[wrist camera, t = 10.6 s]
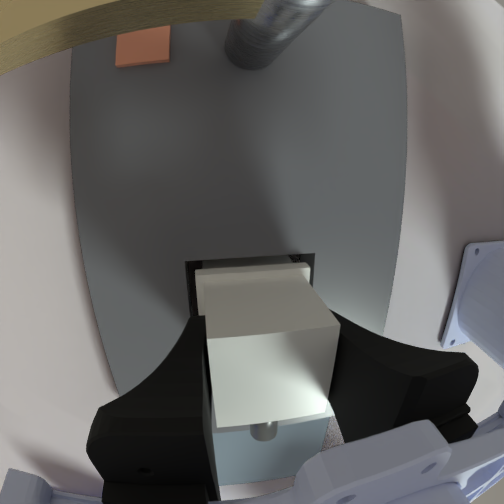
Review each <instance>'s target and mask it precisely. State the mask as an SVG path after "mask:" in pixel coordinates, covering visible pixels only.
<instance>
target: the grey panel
mask: <svg viewBox="0 0 504 504" xmlns="http://www.w3.org/2000/svg"><path fill="white" fill-rule="evenodd" d="M230 21H231V20H215V21H203V22H193V23H184V24H176V25H169V26H162V27H156V28H150V29H144V30H139V31H134V32H129V33H125V34H120V35H116V36H111V37H107V38H103V39H100V40H96V41H92V42H89V43H85V44H82V45H78V46H75V47H73V49H72V61H71V79H70V148H71V165H72V179H73V190H74V200H75V208H76V216H77V224H78V231H79V237H80V244H81V250H82V256H83V261H84V266H85V272H86V277H87V282H88V286H89V291H90V295H91V300H92V304H93V308H94V312H95V316H96V320H97V324H98V328H99V332H100V335H101V339H102V342H103V346H104V349H105V353H106V356H107V359H108V362H109V366H110V369H111V372H112V375H113V378H114V381H115V384H116V387H117V390H118V393H119V395H120V397H121V396H122V395H124V394H125V393H127V392H129V391H130V390H132V389H133V388H134V387H136V386H137V385H138V384H140V383H141V382H142V381H143V380H144V379H146V378H147V377H148V376H149V375H150V374H151V373H152V372H153V371H154V370H155V369H156V368H157V367H158V366H159V365H160V364H161V362H162V361H163V360H164V359H165V358H166V356H167V355H168V354H169V352H170V351H171V349H172V348H173V347H174V345H175V344H176V342H177V340H178V339H179V337H180V335H181V334H182V332H183V330H184V328H185V326H186V324H187V321H188V319H189V318H190V317H191V316H193V315H192V305H191V295H190V285H189V274H188V262H187V261H195V260H211V259H227V258H244V257H260V256H276V255H291V254H300V263H303V262H306V263H307V264H308V265H309V267H310V280H309V283H310V285H311V286H312V287H313V289H314V290H315V291H316V293H317V294H318V295H319V297H320V298H321V299H322V301H323V302H324V303H325V304H326V306H327V307H328V308H329V309H331V310H332V311H334V312H336V313H338V314H339V315H341V316H343V317H345V318H346V319H348V320H350V321H352V322H354V323H355V324H357V325H359V326H361V327H363V328H365V329H367V330H369V331H371V332H374V333H376V334H378V335H380V336H383V331H384V327H385V322H386V317H387V312H388V308H389V302H390V297H391V292H392V286H393V280H394V274H395V268H396V262H397V255H398V248H399V240H400V232H401V223H402V214H403V203H404V191H405V177H406V157H407V85H406V66H405V52H404V41H403V31H402V23H401V15H399V14H396V13H392V12H389V11H386V10H383V9H379V8H376V7H372V6H368V5H365V4H361V3H357V2H352V1H348V0H337V1H335V2H334V3H333V4H332V5H331V6H330V7H329V8H328V9H326V10H325V11H324V12H323V13H322V14H321V15H320V16H319V17H318V18H317V19H316V20H315V21H313V22H312V23H311V24H310V25H309V26H308V27H307V28H306V29H305V30H304V31H303V32H302V33H301V34H300V35H299V36H298V37H297V38H296V39H295V40H294V41H293V42H292V43H291V44H290V45H289V46H288V47H287V48H286V49H285V50H284V51H283V52H282V53H281V54H280V55H279V56H278V57H277V58H276V59H275V60H274V61H273V62H272V63H271V64H270V65H269V66H267V67H265V68H263V69H260V70H245V69H242V68H239V67H237V66H236V65H234V64H233V63H232V62H231V61H230V60H229V59H228V57H227V55H226V53H225V49H224V43H225V39H226V35H227V31H228V28H229V24H230ZM330 416H335V414H334V412H333V409H332V407H331V405H330V403H329V401H328V400H327V404H326V409H325V412H324V413H319V414H314V415H309V416H303V417H298V418H292V419H286V420H279V421H278V426H282V425H288V424H294V423H300V422H305V421H311V420H316V419H321V418H325V417H330ZM245 430H250V424H249V425H240V426H230V427H218V428H217V423H216V416H215V408H214V400H213V391H212V433H225V432H236V431H245Z"/></svg>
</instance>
